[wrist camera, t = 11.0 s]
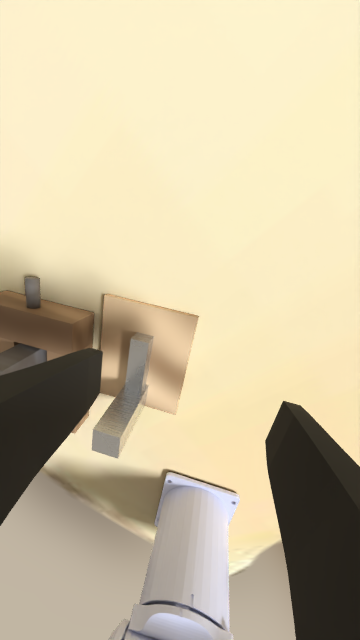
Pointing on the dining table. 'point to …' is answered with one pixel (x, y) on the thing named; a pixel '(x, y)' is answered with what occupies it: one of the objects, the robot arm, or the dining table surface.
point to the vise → (40, 330)
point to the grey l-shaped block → (125, 400)
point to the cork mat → (166, 354)
